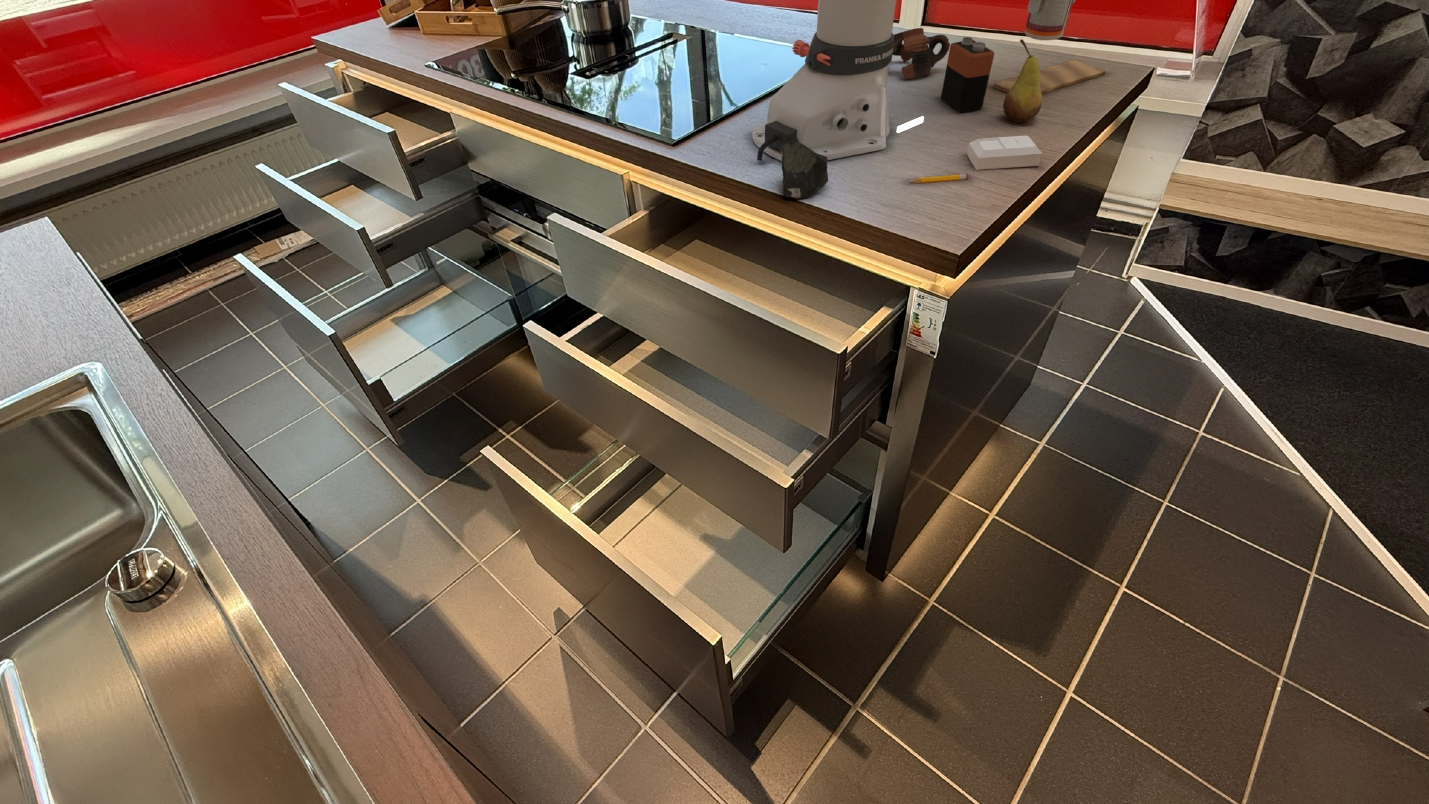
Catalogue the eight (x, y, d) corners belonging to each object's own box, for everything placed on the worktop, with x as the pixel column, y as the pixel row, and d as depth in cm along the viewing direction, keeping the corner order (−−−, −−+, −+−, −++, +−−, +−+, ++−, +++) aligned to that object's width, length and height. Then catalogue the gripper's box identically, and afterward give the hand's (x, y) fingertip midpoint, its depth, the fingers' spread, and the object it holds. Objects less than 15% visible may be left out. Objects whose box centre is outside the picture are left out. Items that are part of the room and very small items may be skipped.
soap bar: (1038, 165, 99) (1043, 147, 97) (976, 169, 99) (979, 152, 97) (1027, 150, 102) (1032, 133, 101) (966, 154, 103) (970, 137, 101)
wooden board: (1023, 99, 116) (1024, 95, 116) (993, 87, 121) (994, 83, 120) (1104, 74, 123) (1106, 70, 122) (1073, 63, 127) (1074, 59, 127)
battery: (959, 113, 113) (973, 49, 106) (939, 99, 118) (950, 36, 111) (983, 109, 114) (997, 45, 107) (961, 95, 119) (974, 33, 112)
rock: (831, 131, 95) (825, 150, 100) (781, 131, 95) (778, 150, 100) (831, 193, 93) (826, 209, 98) (781, 193, 94) (778, 208, 98)
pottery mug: (888, 85, 125) (880, 36, 123) (885, 91, 134) (877, 46, 131) (956, 65, 122) (949, 15, 120) (948, 72, 131) (942, 26, 129)
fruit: (1022, 130, 108) (1045, 49, 99) (992, 119, 111) (1011, 39, 103) (1044, 120, 110) (1068, 40, 102) (1014, 110, 113) (1035, 31, 105)
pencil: (968, 176, 97) (967, 173, 97) (909, 181, 97) (908, 177, 97) (967, 180, 98) (966, 176, 98) (908, 185, 98) (907, 181, 98)
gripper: (1045, -82, 96) (1019, 25, 106) (1142, -102, 103) (1109, 1, 113) (1011, -88, 100) (989, 15, 110) (1107, -107, 107) (1078, -8, 117)
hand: (1050, 8), depth 111 cm, fingers closed on pill bottle, 6 cm apart
